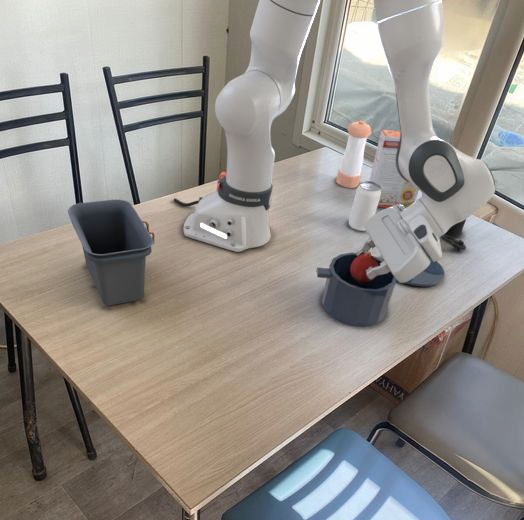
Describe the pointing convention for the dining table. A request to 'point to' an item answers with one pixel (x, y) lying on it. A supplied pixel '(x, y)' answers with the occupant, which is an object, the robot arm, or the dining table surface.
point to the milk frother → (455, 236)
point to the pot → (355, 293)
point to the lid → (428, 275)
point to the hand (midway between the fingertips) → (362, 266)
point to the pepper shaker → (353, 155)
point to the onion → (362, 267)
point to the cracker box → (391, 173)
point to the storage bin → (113, 248)
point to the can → (364, 204)
